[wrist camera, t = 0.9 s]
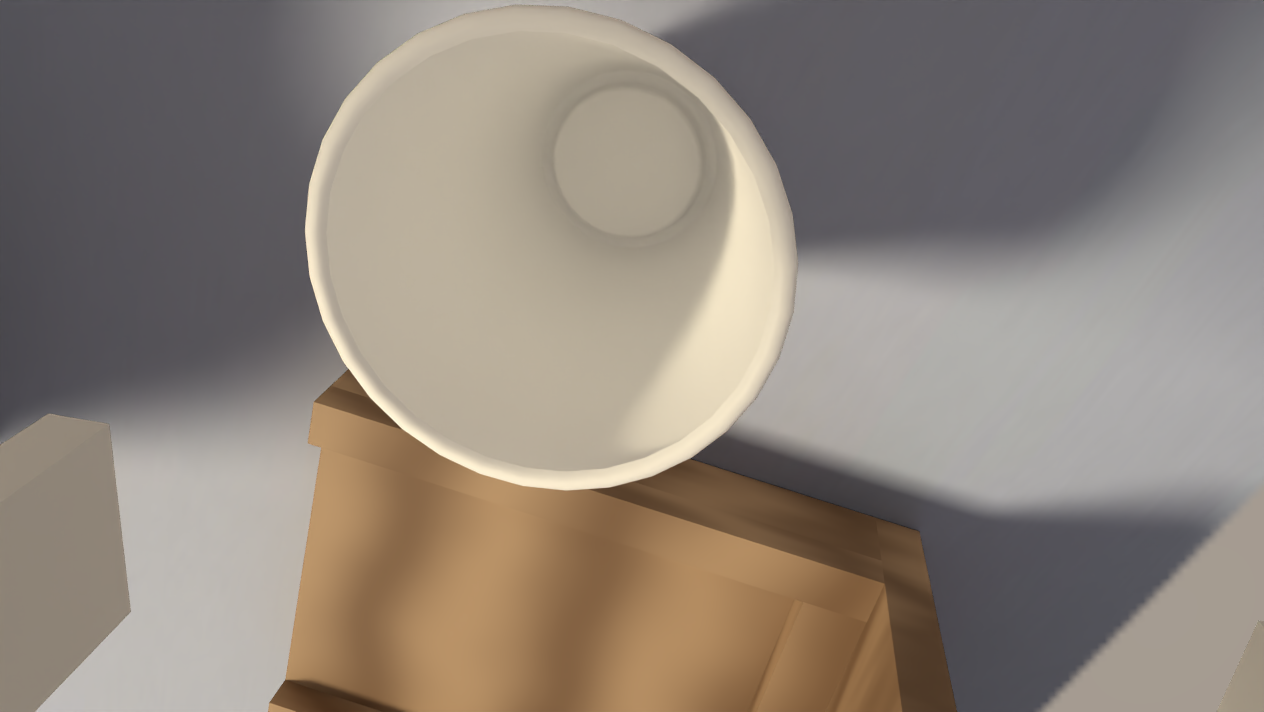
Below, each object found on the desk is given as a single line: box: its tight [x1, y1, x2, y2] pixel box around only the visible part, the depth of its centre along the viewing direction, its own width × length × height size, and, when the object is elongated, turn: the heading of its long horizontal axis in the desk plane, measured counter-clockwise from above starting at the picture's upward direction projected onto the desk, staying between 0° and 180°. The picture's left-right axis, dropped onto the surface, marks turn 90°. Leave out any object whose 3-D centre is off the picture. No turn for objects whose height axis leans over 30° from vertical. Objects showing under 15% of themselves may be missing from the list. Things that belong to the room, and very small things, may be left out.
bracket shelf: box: [268, 369, 957, 712], centre depth 31 cm, size 20×14×10 cm
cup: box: [305, 5, 798, 491], centre depth 24 cm, size 10×10×11 cm
